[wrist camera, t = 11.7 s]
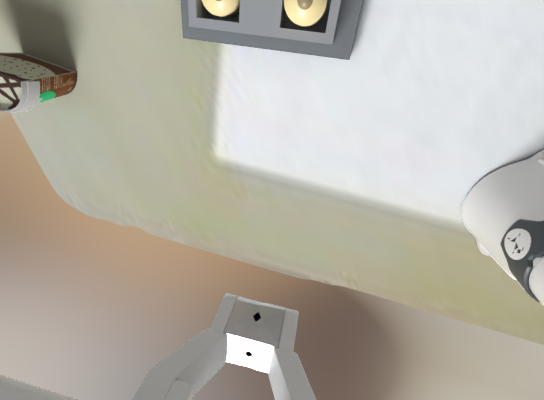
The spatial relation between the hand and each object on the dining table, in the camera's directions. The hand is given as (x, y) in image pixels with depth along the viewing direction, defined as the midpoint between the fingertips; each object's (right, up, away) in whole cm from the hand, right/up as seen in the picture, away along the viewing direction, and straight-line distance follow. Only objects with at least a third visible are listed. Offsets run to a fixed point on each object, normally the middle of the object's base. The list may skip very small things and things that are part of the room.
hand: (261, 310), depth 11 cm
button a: (+4, +26, +19) cm, 33 cm away
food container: (-36, +24, +34) cm, 56 cm away
